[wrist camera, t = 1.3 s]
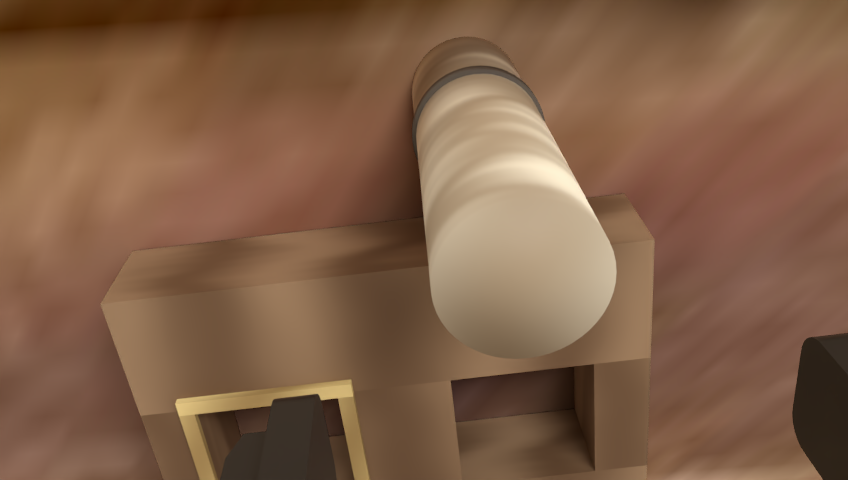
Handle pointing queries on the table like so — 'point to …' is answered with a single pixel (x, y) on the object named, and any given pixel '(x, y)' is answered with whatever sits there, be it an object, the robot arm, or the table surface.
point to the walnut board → (370, 356)
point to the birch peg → (502, 209)
